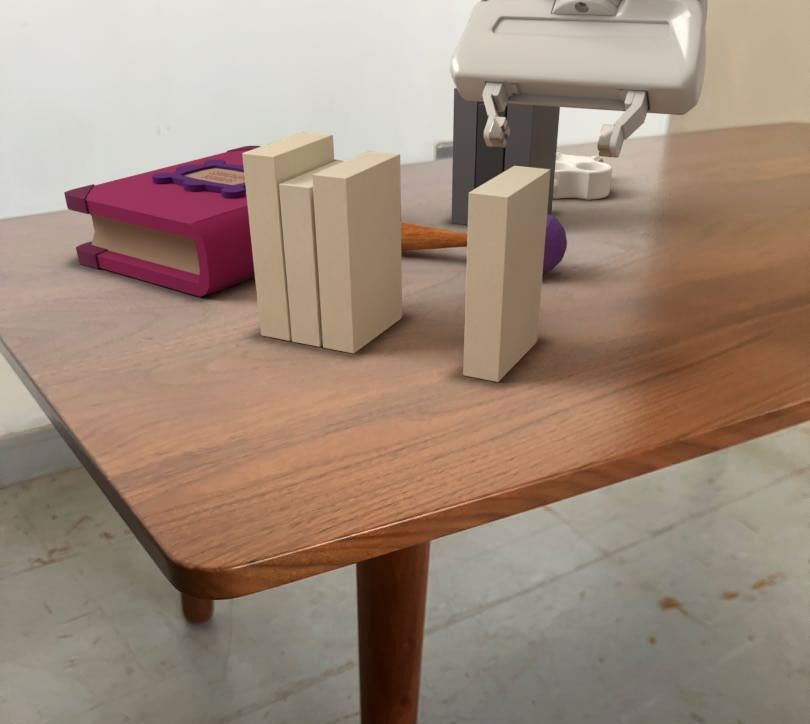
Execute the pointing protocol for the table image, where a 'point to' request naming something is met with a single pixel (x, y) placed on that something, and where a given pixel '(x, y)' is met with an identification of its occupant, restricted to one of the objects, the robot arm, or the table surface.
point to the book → (172, 224)
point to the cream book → (504, 270)
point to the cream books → (324, 241)
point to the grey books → (481, 163)
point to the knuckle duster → (581, 177)
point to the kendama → (438, 238)
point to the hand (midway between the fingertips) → (548, 147)
